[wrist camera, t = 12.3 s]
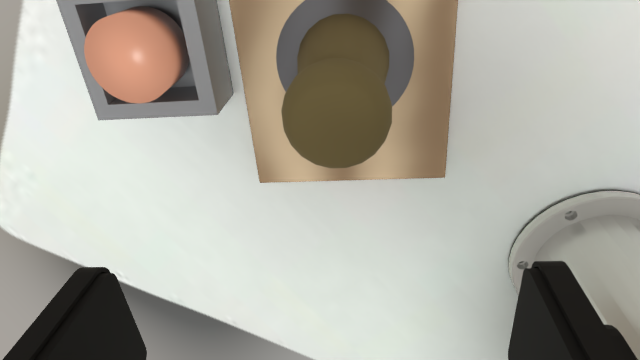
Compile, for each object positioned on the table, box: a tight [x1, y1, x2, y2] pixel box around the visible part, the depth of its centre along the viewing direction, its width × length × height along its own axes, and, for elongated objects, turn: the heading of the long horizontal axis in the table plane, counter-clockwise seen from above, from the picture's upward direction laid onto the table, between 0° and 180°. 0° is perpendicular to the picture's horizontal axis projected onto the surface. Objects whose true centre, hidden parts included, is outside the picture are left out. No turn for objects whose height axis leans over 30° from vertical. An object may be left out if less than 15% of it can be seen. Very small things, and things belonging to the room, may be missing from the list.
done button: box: [84, 6, 189, 103], centre depth 26 cm, size 5×5×3 cm
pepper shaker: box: [281, 13, 392, 168], centre depth 24 cm, size 6×6×11 cm
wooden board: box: [229, 0, 458, 183], centre depth 29 cm, size 14×18×1 cm
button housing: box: [56, 0, 233, 120], centre depth 28 cm, size 8×8×4 cm
